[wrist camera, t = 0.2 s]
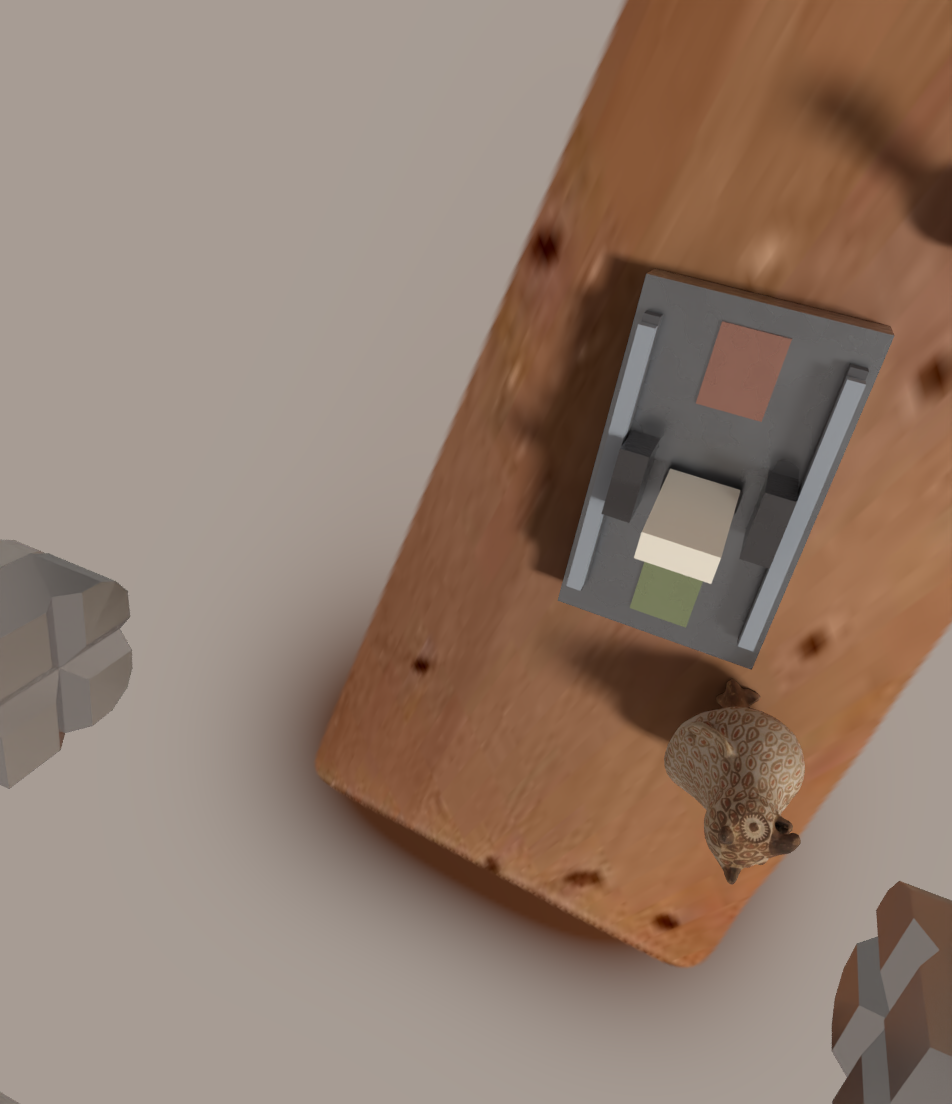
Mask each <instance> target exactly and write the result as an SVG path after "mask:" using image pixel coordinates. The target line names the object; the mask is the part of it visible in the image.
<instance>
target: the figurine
mask: <svg viewBox="0 0 952 1104" xmlns="http://www.w3.org/2000/svg"><path fill="white" fill-rule="evenodd" d="M759 699H760V695H759V694H758V693H756V692H753V691H751V690H750V689H748V688H747V689H742V688H741V687H740V685H739V684H738V683H737V682H736V681H735V680H733V679H732V680H730V681H729V682H727V685H726V691H725V692H724V693H723V694H720V695H718V696H717V697H716V700H717V703H718V704H720V705H721V707H722V709H717V710H712V711H706V712H703V713H700V714H697V715H696V716H694V717H692V718H691V719H689V720H687V721H685V722H684V723H682V724H681V726H680V727H679V728H678V729H677V730H676V732H675V733H674V735H673V737H672V738H671V740H670V742H669V744H668V747H667V749H666V752H665V758H664V761H665V769H666V771H667V774H668V775H669V777H670V778H671V780H672V781H673V782H674V783H676V784H677V785H678V786H680V787H681V788H682V789H684V790H685V791H686V792H687V793H689V794H690V795H691V796H693V797H694V798H695V799H696V800H698V802H699V803H700V804H701V805H702V806H703V807H704V808H705V809H706V810H707V811H706V814H705V818H704V833H705V839H706V841H707V844H708V847H709V849H710V850H711V852H712V853H713V855H714V856H715V858H716V859H717V861H718V863H719V864H720V866H721V867H722V869H723V871H724V875H725V877H726V880H727V882H728V883H730V884H734V883H735V882H736V880H737V878H738V875H739V873H740V871H741V870H742V869H743V868H748V867H751V866H753V865H755V864H758V865H763V864H765V863H766V862H767V860H768V858H771V857H774V856H777V855H782V854H788V853H791V852H792V851H794V850H795V849H796V848H797V847H798V846H799V845H800V837H799V836H798V835H797V834H796V833H790V832H791V831H792V828H793V826H792V824H791V823H790V822H789V821H788V820H786V819H784V818H782V817H781V813H782V811H783V810H784V809H785V808H786V807H787V805H788V804H789V803H790V801H791V800H792V798H793V797H794V796H795V795H796V794H797V793H798V791H799V789H800V787H801V785H802V781H803V777H804V773H805V766H804V758H803V753H802V749H801V746H800V744H799V742H798V740H797V738H796V737H795V735H794V734H793V733H792V732H791V731H790V730H789V729H788V728H787V727H786V726H785V725H784V724H783V723H781V722H780V721H779V720H777V719H776V718H774V717H772V716H770V715H768V714H766V713H764V712H762V711H758V710H755V709H750V708H749V706H750V705H751V704H752V703H754V702H757V701H758V700H759ZM789 833H790V834H789Z"/></svg>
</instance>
